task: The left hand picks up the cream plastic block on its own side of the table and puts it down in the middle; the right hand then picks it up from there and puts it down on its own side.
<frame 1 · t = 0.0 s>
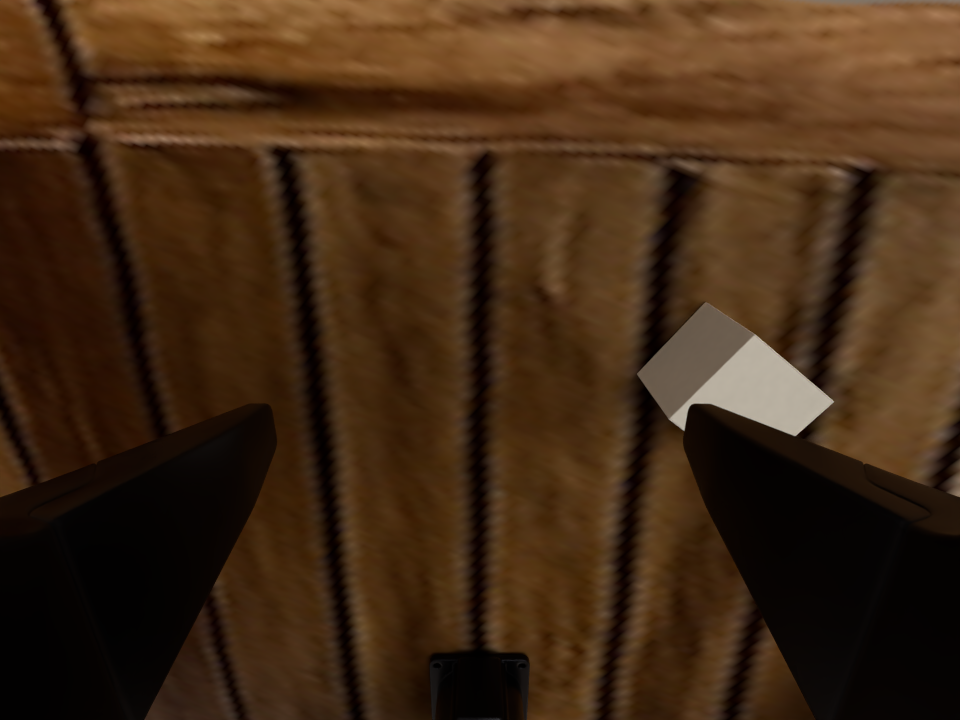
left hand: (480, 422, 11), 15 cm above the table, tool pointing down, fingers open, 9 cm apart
block: (704, 366, 27), on the table
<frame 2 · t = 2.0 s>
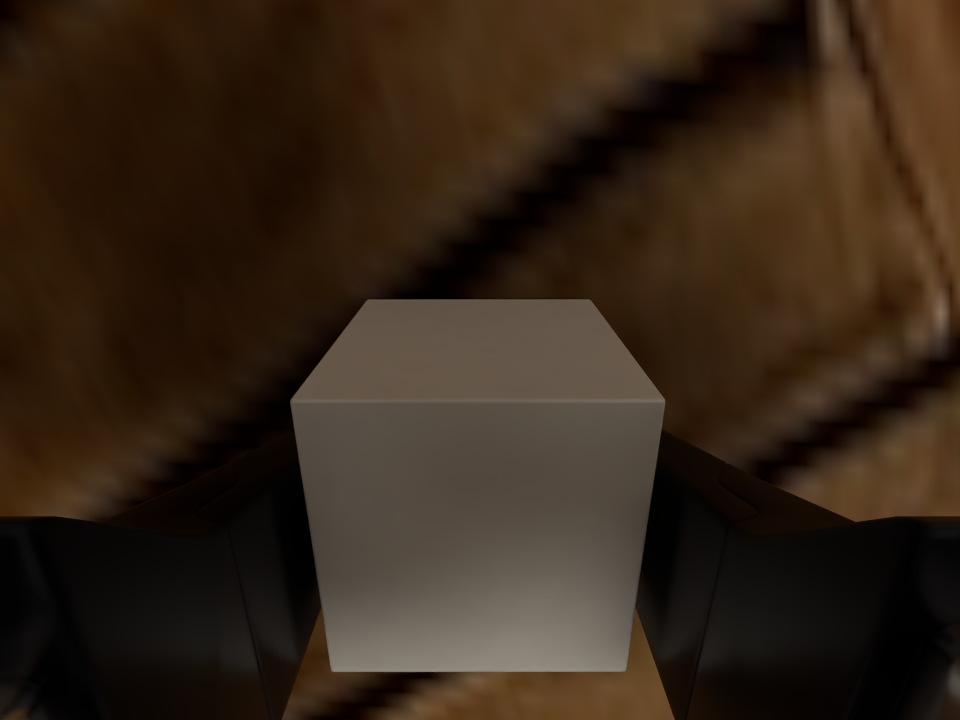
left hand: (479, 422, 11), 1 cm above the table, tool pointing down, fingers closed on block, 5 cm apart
block: (478, 402, 12), on the table, touching left hand
when the left hand's fingers open (2 cm above the table, at t = 8.9 s): block drops 1 cm, on the table.
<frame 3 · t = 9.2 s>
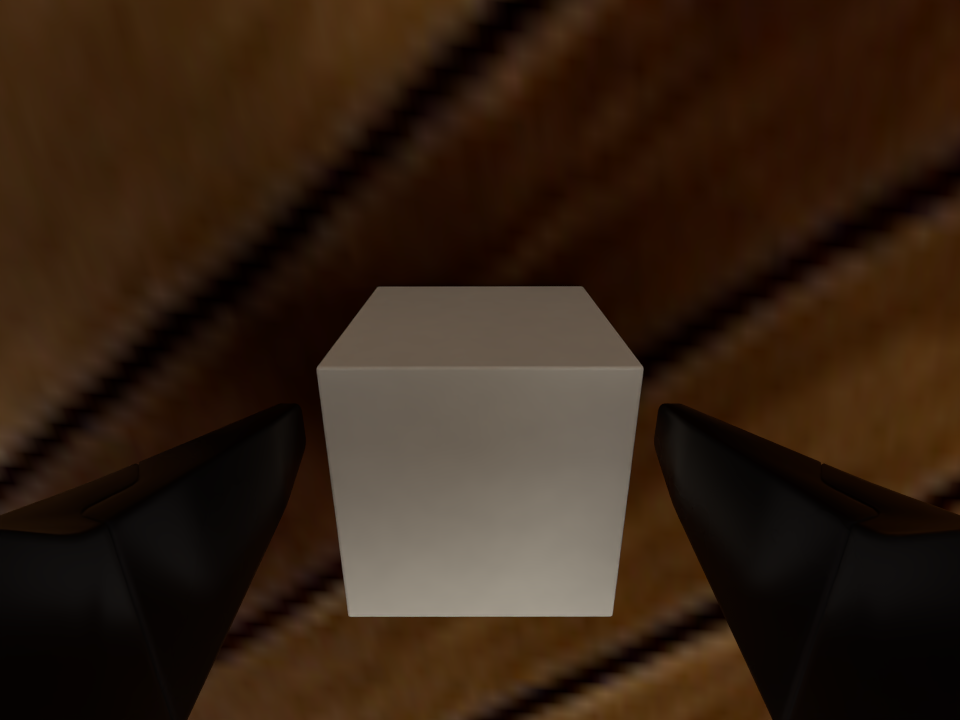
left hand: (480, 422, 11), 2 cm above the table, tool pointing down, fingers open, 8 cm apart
block: (480, 382, 13), on the table
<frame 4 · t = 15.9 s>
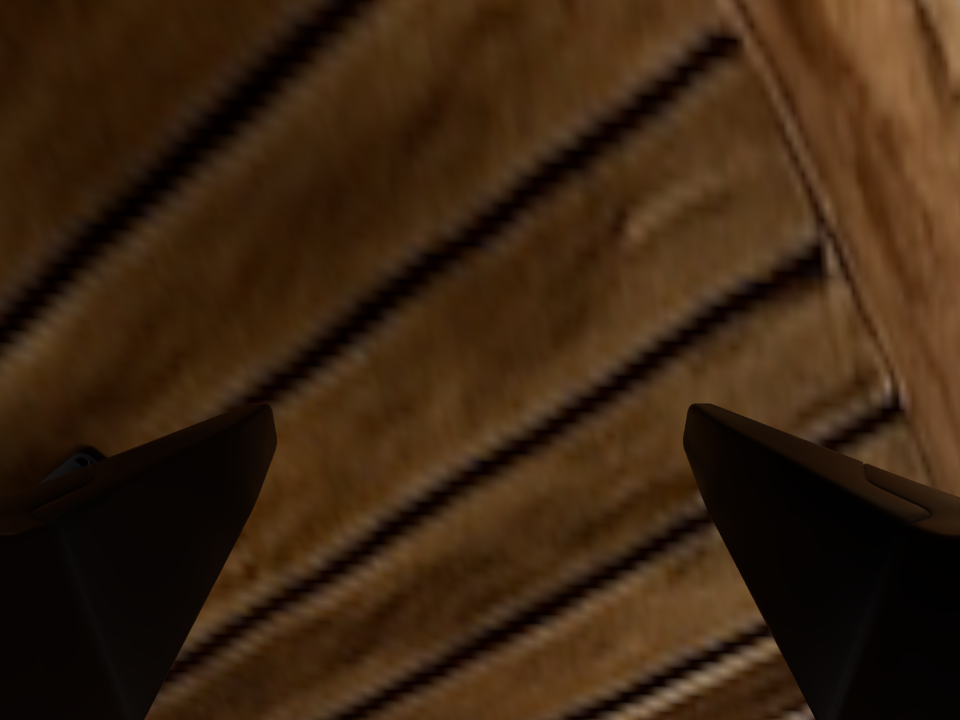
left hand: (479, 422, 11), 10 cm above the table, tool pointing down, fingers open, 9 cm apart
when the right hand's fingers open (1 cm above the table, at t = 30.3 s): block stays where it is, on the table.
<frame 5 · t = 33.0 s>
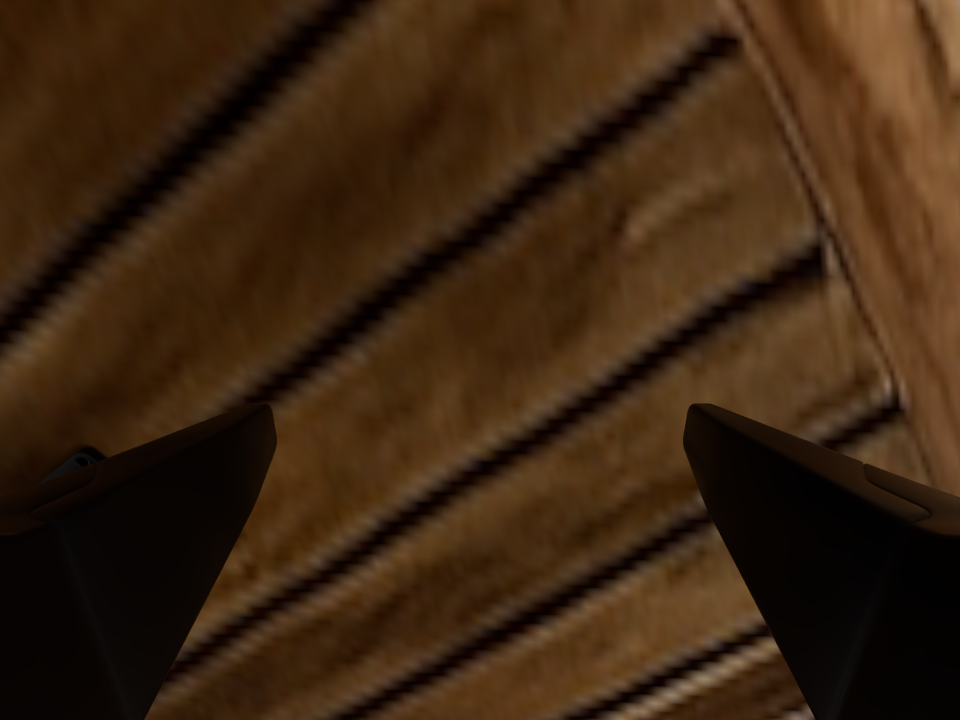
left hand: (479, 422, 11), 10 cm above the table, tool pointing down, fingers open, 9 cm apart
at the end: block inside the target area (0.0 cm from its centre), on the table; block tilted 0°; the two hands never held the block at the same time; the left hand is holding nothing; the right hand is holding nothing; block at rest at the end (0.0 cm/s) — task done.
